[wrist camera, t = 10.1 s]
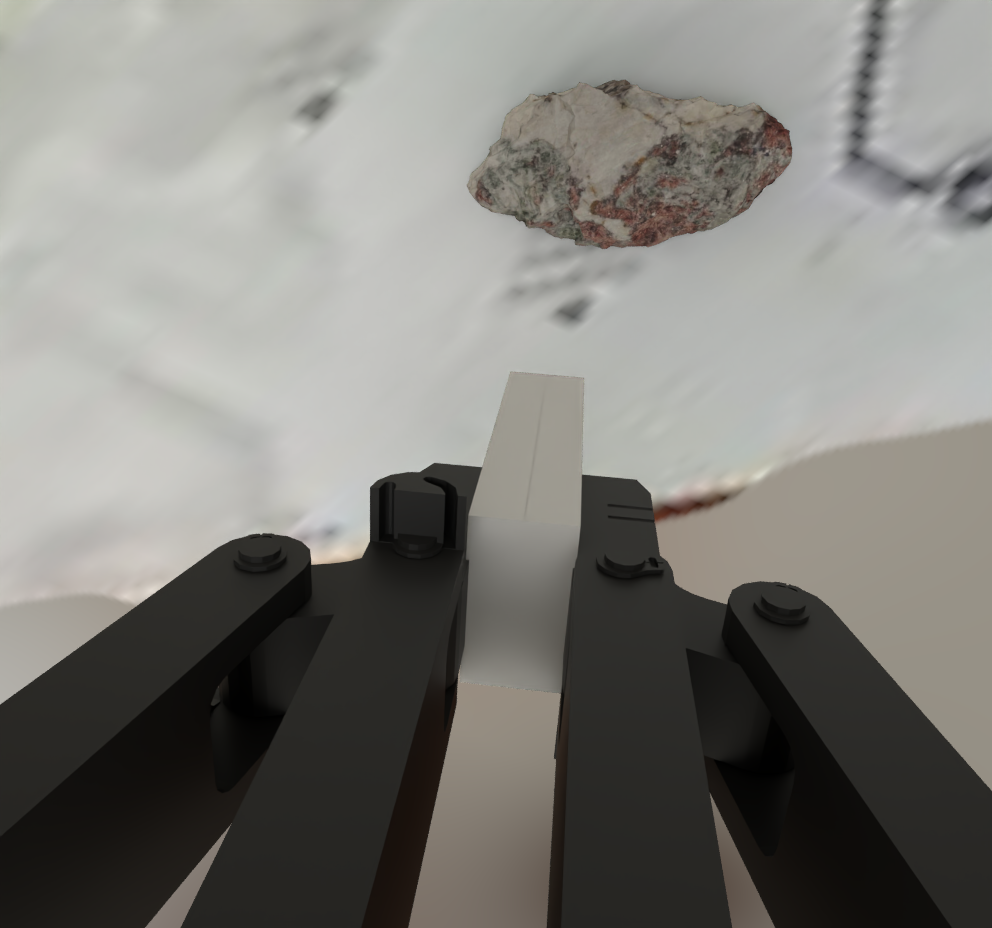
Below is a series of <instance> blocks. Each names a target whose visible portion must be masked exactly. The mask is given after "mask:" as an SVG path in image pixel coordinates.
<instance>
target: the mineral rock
mask: <svg viewBox="0 0 992 928" xmlns="http://www.w3.org/2000/svg"><path fill="white" fill-rule="evenodd" d="M789 132H790V131H789V130H787V129H785V128H784V127H783V125H782V124H781V123H779V122H778V121H777V120H776V118H774V117H772V116H770V115H769V114H768V113H767V112H766V111H764V110H763V109H762V108H761V107H760V106H759V105H756V104H755V103H751V104H748V105H746V106H743V107H736V106H733V105H727V106H722V105H717V104H716V103H714V102H710V101H707V100H705V99H704V98H703V97H702V96H700V97H697V98H693V99H689V100H681V99H680V100H677V99H668V98H666V97H664V96H662V95H660V94H657V93H653V92H650V91H643V90H641V89H640V88H639V87H638V86H637V85H631V84H630V83H629V82H628V81H626V80H621V81H616V80H613V81H610V82H607V83H605V84H602V85H600V86H598V87H596V88H593V87H591V86H590V85H588V84H585V83H580V82H579V83H578V85H577V87H576V88H572V89H570V90H567V91H565V92H561V93H558V94H556V93H554V92H552V93H549V95H548V96H545V95H543V96H538V97H537V96H535V95H534V94H530V95H529V96H528V98H527V99H526V100H525V101H524V102H523V103H522V104H521V105H519V106H517V107H516V108H514V109H512V110H511V111H510V113H508V114H507V115H506V117H505V121H504V124H503V127H502V134H501V138H500V140H499V141H498V142H496V143H495V144H494V145H492V146H491V147H490V149H489V150H490V153H489V155H488V156H487V158H486V159H485V161H484V162H483V163H482V164H481V165H480V166H479V167H478V168H477V169H476V170H475V171H474V172H472V174H471V175H470V180H469V182H468V184H467V187H468V189H469V192H470V193H471V194H472V196H473V197H474V199H476V200H477V202H478V203H479V204H480V205H481V206H483V207H485V208H487V209H489V210H490V211H491V212H496V213H501V214H506V215H513V216H515V217H516V219H517V220H518V221H523V222H524V223H525V225H526V227H528V228H535V227H540V228H542V229H545V230H546V232H547V233H549V234H551V235H553V236H554V237H559V238H561V239H562V238H569V239H574V240H575V245H582V246H586V245H593V246H596V247H600V248H602V249H607V248H608V247H610V246H616V247H621V248H623V247H626V246H647V247H650V246H654V245H657V244H659V243H661V242H663V241H665V240H667V239H669V238H671V237H674V236H678V235H683V234H686V233H690V234H692V233H695V232H697V231H705V230H709V229H713V228H715V227H717V226H720V225H721V224H723V223H725V222H727V221H729V219H731V218H733V217H735V216H737V215H739V214H740V213H742V212H744V211H745V210H747V209H748V208H749V207H750V205H751V204H752V202H753V200H754V199H755V198H756V197H757V196H758V195H759V194H760V193H761V192H762V190H763V188H764V187H766V185H770V184H772V183H773V182H774V181H775V179H776V178H777V177H778V176H780V175H781V174H782V172H783V171H784V170H785V168H786V167H787V166H788V165H789V164H790V161H791V157H792V147H791V142H790V136H789Z"/></svg>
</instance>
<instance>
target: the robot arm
mask: <svg viewBox="0 0 992 928" xmlns="http://www.w3.org/2000/svg"><path fill="white" fill-rule="evenodd" d="M583 404H584V378H579V377H568V376H556V375H545V374H533V373H521V372H510V375H509V378H508V381H507V385H506V388H505V392H504V395H503V398H502V402H501V405H500V409H499V412H498V416H497V419H496V422H495V426H494V429H493V433H492V436H491V439H490V443H489V446H488V450H487V453H486V457H485V460H484V463H483V467H472V466H461V465H451V464H440V463H434V464H432V465H430V466H429V467H427V468H426V469H424V470H422V471H421V472H407V473H400V474H394V475H390V476H387V477H385V478H382V479H380V480H378V481H377V482H375V483H374V484H373V485H372V486H371V487H370V542H369V544H368V547H367V549H366V551H365V553H364V555H363V557H362V558H360V559H356V560H353V561H348V562H341V563H332V564H318V565H311V555H310V549H309V548H308V547H307V546H306V545H304V544H303V543H302V542H301V541H298V540H296V539H293V538H291V537H288V536H280V535H274V534H266V533H263V534H262V535H260V534H252V535H249V536H246V537H243V538H239V539H235V540H232V541H230V542H228V543H226V544H224V545H222V546H220V547H218V548H217V549H215V550H214V551H213V552H211V553H210V554H208V555H207V556H206V557H204V558H203V559H201V560H200V561H199V562H197V563H196V564H195V565H193V566H192V567H190V568H189V569H188V570H186V571H185V572H183V573H182V574H181V575H179V576H178V577H176V578H175V579H174V580H172V581H171V582H170V583H168V584H167V585H165V586H164V587H163V588H161V589H160V590H158V591H157V592H156V593H154V594H153V595H152V596H150V597H149V598H147V599H146V600H145V601H143V602H142V603H140V604H139V605H138V606H136V607H135V608H133V609H132V610H131V611H129V612H128V613H127V614H125V615H124V616H122V617H121V618H120V619H118V620H117V621H115V622H114V623H113V624H111V625H110V626H109V627H107V628H106V629H104V630H103V631H102V632H100V633H99V634H97V635H96V636H95V637H93V638H92V639H91V640H89V641H88V642H86V643H85V644H84V645H82V646H81V647H79V648H78V649H77V650H75V651H74V652H72V653H71V654H70V655H69V656H67V657H66V658H64V659H63V660H61V661H60V662H59V663H57V664H56V665H54V666H53V667H52V668H50V669H49V670H48V671H46V672H45V673H43V674H42V675H41V676H39V677H38V678H36V679H35V680H34V681H33V682H31V683H30V684H28V685H27V686H25V687H24V688H23V689H21V690H20V691H18V692H17V693H16V694H14V695H13V696H11V697H10V698H9V699H8V700H6V701H5V702H3V703H2V704H1V705H0V928H145V927H146V926H147V925H148V923H149V922H150V921H151V920H152V919H153V917H154V916H155V915H156V914H157V913H158V911H159V910H160V909H161V908H162V907H163V905H164V904H165V903H166V901H167V900H168V899H169V898H170V897H171V896H172V894H173V893H174V892H175V891H176V890H177V888H178V887H179V886H180V885H181V884H182V882H183V881H184V880H185V879H186V878H187V876H188V875H189V874H190V873H191V872H192V870H193V869H194V868H195V867H196V865H197V864H198V863H199V862H200V861H201V860H202V858H203V857H204V856H205V855H206V854H207V852H208V851H209V850H210V849H211V848H212V846H213V845H214V844H215V843H216V841H217V840H218V839H219V838H220V837H221V835H222V834H223V833H224V832H225V831H226V829H227V828H228V827H229V826H230V825H231V826H230V828H229V830H228V832H227V834H226V836H225V838H224V840H223V842H222V844H221V846H220V848H219V851H218V853H217V855H216V857H215V859H214V861H213V863H212V865H211V867H210V869H209V871H208V873H207V875H206V877H205V880H204V881H203V883H202V885H201V887H200V889H199V891H198V893H197V896H196V898H195V899H194V902H193V904H192V906H191V908H190V910H189V912H188V914H187V916H186V918H185V920H184V922H183V924H182V926H181V928H408V926H409V921H410V917H411V912H412V908H413V903H414V898H415V893H416V889H417V885H418V880H419V875H420V871H421V866H422V861H423V856H424V852H425V847H426V843H427V838H428V834H429V829H430V824H431V820H432V815H433V811H434V806H435V801H436V797H437V792H438V787H439V783H440V778H441V773H442V769H443V764H444V759H445V755H446V751H447V746H448V741H449V736H450V732H451V728H452V723H453V718H454V713H455V709H456V703H457V684H458V673H459V669H460V682H464V683H472V684H481V685H490V686H500V687H508V688H517V689H526V690H535V691H544V692H553V693H561V698H560V707H559V716H558V725H557V735H556V744H555V753H554V759H556V771H555V788H554V806H553V824H552V841H551V859H550V877H549V894H548V912H547V928H732V924H731V918H730V912H729V907H728V900H727V895H726V889H725V883H724V876H723V870H722V864H721V859H720V852H719V846H718V840H717V835H716V828H715V823H714V817H713V811H712V805H711V798H710V794H711V796H712V798H713V800H714V802H715V804H716V806H717V808H718V810H719V812H720V814H721V816H722V818H723V820H724V822H725V825H726V827H727V829H728V831H729V833H730V835H731V837H732V839H733V841H734V843H735V845H736V847H737V849H738V852H739V854H740V856H741V858H742V860H743V862H744V864H745V866H746V868H747V870H748V872H749V874H750V876H751V879H752V881H753V883H754V885H755V887H756V889H757V891H758V893H759V895H760V897H761V899H762V901H763V903H764V905H765V908H766V910H767V912H768V914H769V916H770V918H771V920H772V922H773V924H774V926H775V928H992V791H991V790H990V788H989V787H988V786H987V785H986V784H985V783H984V782H983V781H982V779H981V778H980V777H979V776H978V775H977V774H976V773H975V771H974V770H973V769H972V768H971V767H970V766H969V765H968V764H967V762H966V761H965V760H964V759H963V758H962V757H961V756H960V755H959V753H958V752H957V751H956V750H955V749H954V748H953V747H952V746H951V744H950V743H949V742H948V741H947V740H946V739H945V738H944V736H943V735H942V734H941V733H940V732H939V731H938V730H937V728H936V727H935V726H934V725H933V724H932V723H931V722H930V720H929V719H928V718H927V717H926V716H925V715H924V714H923V713H922V711H921V710H920V709H919V708H918V707H917V706H916V705H915V703H914V702H913V701H912V700H911V699H910V698H909V697H908V695H906V693H905V692H904V691H903V690H902V689H901V688H900V687H899V685H898V684H897V683H896V682H895V681H894V680H893V678H892V677H891V676H890V675H889V674H888V673H887V672H886V670H885V669H884V668H883V667H882V666H881V665H880V664H879V663H878V661H877V660H876V659H875V658H874V657H873V656H872V655H871V653H870V652H869V651H868V650H867V649H866V648H865V647H864V646H863V644H862V643H861V642H860V641H859V640H858V639H857V638H856V637H855V635H854V634H853V633H852V632H851V631H850V630H849V628H848V627H847V626H846V625H845V624H844V623H843V622H842V621H841V619H840V618H839V617H838V616H837V615H836V614H835V613H834V612H833V610H832V609H831V608H830V607H829V606H828V605H826V604H825V603H824V602H823V601H821V600H820V599H819V598H818V597H816V596H814V595H812V594H810V593H808V592H806V591H803V590H802V589H800V588H798V587H796V586H792V585H786V584H785V583H780V582H761V581H760V582H753V583H747V584H742V585H741V586H739V587H737V588H735V589H733V590H732V592H731V594H730V597H729V599H728V604H723V603H720V602H716V601H712V600H708V599H706V598H703V597H700V596H697V595H694V594H692V593H690V592H688V591H686V590H684V589H682V588H680V587H679V586H677V585H676V584H675V582H674V577H673V571H672V569H671V567H670V565H669V564H668V562H667V561H666V560H665V559H663V558H662V557H661V556H660V554H659V547H658V540H657V533H656V527H655V523H654V513H653V507H652V500H651V494H650V493H649V492H648V491H647V490H646V489H645V488H644V487H643V486H642V485H641V484H640V483H639V482H638V481H637V480H633V479H623V478H612V477H601V476H591V475H582V446H583ZM460 664H461V668H460ZM218 686H219V687H218ZM231 823H232V824H231Z"/></svg>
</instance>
